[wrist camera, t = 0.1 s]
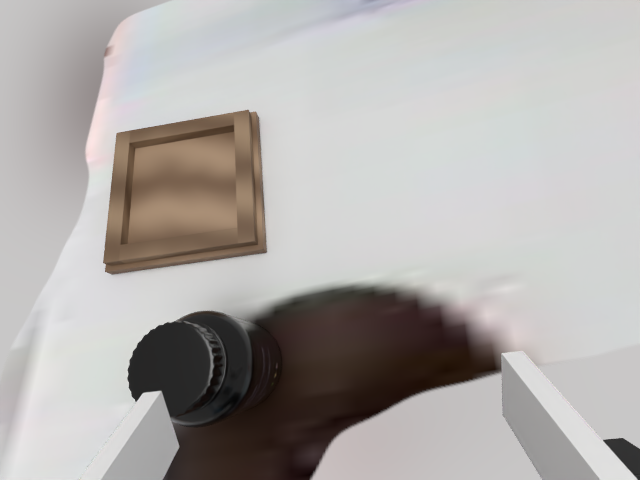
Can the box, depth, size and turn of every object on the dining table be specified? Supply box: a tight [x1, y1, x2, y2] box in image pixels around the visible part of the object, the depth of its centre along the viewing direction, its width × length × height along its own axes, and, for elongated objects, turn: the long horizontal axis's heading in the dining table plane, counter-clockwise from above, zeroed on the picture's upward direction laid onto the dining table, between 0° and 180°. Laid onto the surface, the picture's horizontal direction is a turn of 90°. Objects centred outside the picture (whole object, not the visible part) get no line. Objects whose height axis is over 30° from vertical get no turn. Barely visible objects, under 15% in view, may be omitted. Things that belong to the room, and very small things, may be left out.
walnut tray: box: [103, 110, 267, 274], centre depth 35 cm, size 15×15×2 cm
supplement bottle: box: [128, 311, 281, 427], centre depth 24 cm, size 7×7×12 cm
